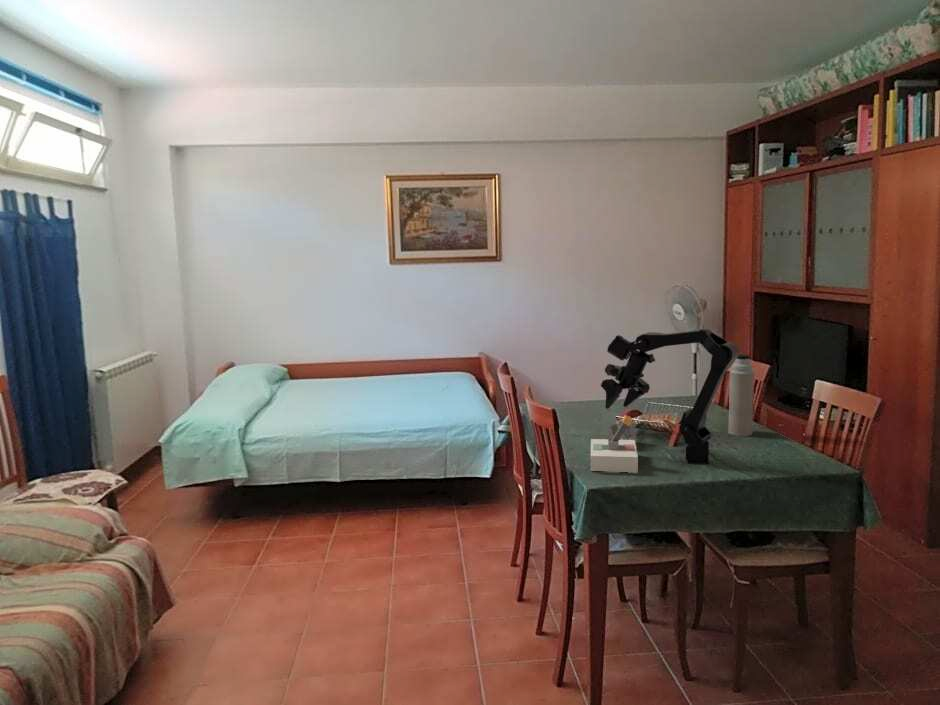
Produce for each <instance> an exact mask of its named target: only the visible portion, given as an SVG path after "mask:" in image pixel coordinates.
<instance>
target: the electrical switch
mask: <svg viewBox="0 0 940 705" xmlns="http://www.w3.org/2000/svg"><path fill="white" fill-rule="evenodd" d="M628 416H629V415H628ZM629 417H631V416H629ZM621 424H622V419H619V420H618V421H615V422H613V423H612V424H610V429H611V432H612V438H613V437H614V435H615V433H616V432H617V430H618V429H619V427H620V425H621ZM619 440H635V444H636V443H637V442H638V439H637V435H636V432H635V428H634V423H633V422H632V423H631V425H630V426H627V428H626V430H625V431H624V433H623V435H622V436H621V438H620V439H619Z"/></svg>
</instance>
